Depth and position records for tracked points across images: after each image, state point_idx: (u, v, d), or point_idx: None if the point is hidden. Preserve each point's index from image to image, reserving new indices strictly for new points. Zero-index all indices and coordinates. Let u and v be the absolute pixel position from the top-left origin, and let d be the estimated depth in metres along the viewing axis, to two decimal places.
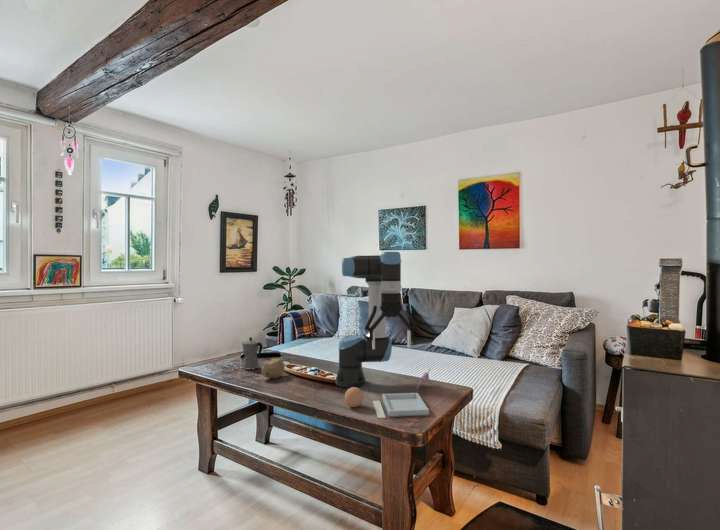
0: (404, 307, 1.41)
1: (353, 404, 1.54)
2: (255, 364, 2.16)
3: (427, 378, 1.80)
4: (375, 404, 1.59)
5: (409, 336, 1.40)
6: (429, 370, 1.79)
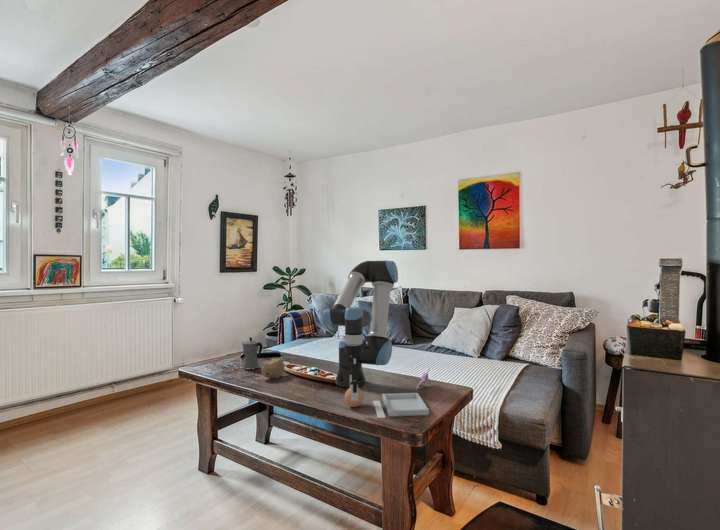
0: None
1: (353, 404, 1.54)
2: (255, 364, 2.16)
3: (427, 378, 1.80)
4: (375, 404, 1.59)
5: (351, 388, 1.50)
6: (429, 370, 1.79)
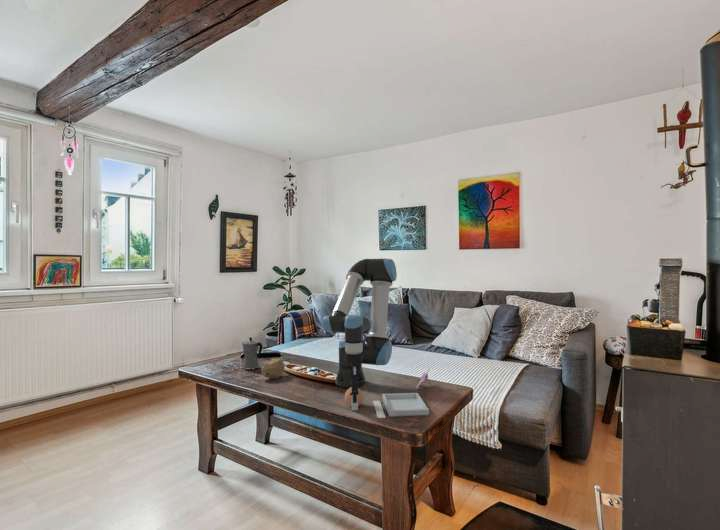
0: None
1: None
2: (255, 364, 2.16)
3: (426, 378, 1.80)
4: (375, 404, 1.59)
5: (351, 398, 1.53)
6: (428, 370, 1.79)
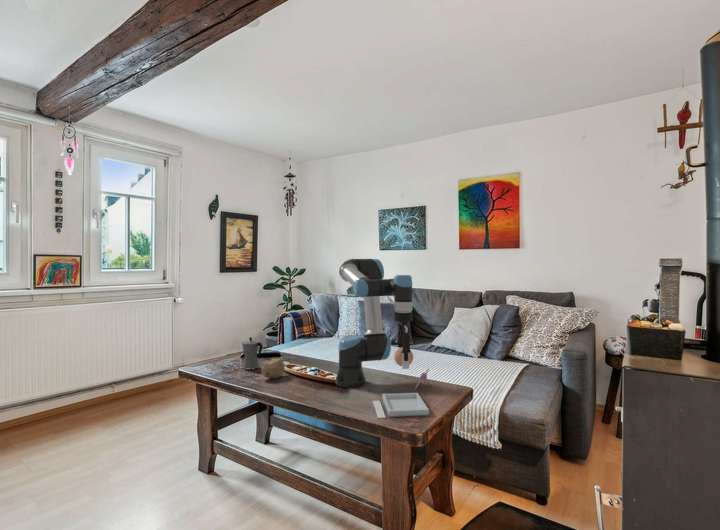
0: None
1: None
2: (255, 364, 2.16)
3: (425, 378, 1.80)
4: (375, 404, 1.59)
5: (402, 357, 1.53)
6: (427, 370, 1.79)
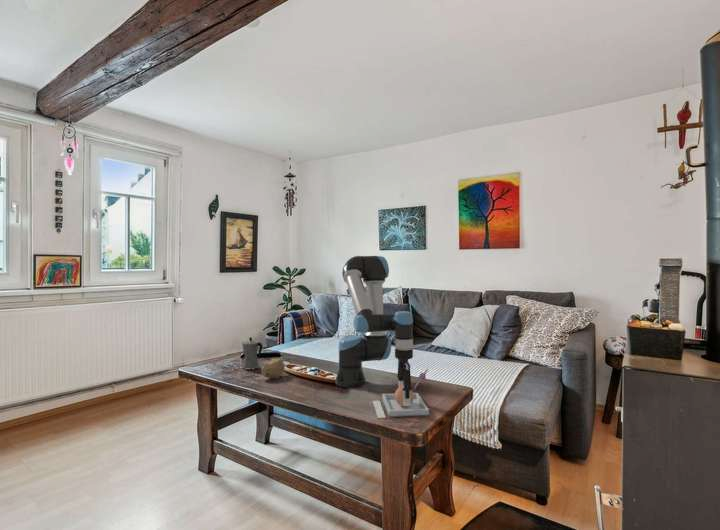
0: None
1: None
2: (255, 364, 2.16)
3: (424, 378, 1.79)
4: (375, 404, 1.59)
5: (403, 394, 1.51)
6: (426, 370, 1.78)
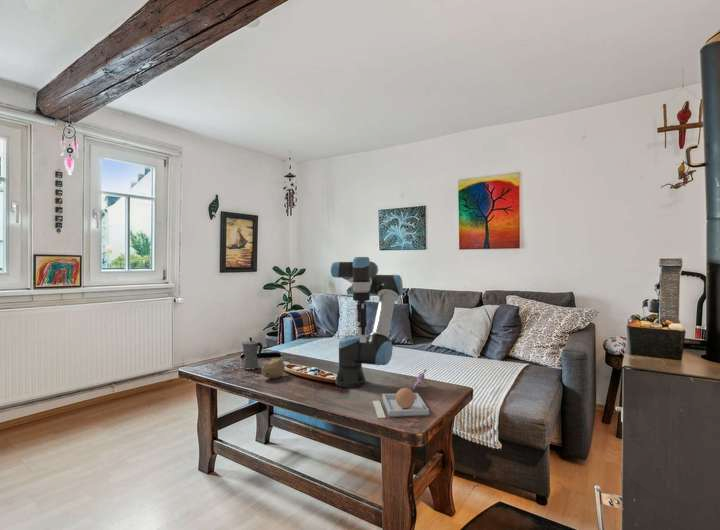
0: None
1: None
2: (255, 364, 2.16)
3: (423, 379, 1.79)
4: (375, 404, 1.59)
5: (359, 331, 1.59)
6: (425, 371, 1.78)
